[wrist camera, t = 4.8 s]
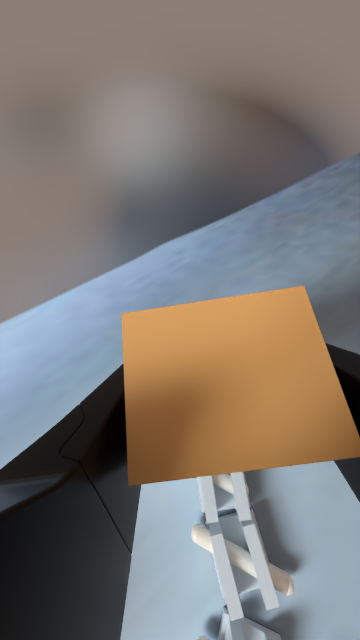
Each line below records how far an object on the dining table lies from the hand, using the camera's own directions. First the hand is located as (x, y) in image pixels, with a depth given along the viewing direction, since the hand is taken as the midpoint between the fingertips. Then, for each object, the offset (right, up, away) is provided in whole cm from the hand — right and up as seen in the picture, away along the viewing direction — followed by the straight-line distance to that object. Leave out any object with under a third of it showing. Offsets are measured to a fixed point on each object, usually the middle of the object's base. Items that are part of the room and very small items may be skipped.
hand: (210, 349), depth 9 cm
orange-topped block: (+1, -3, +6) cm, 7 cm away
